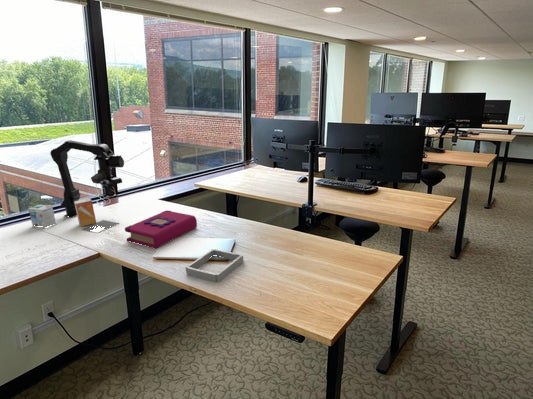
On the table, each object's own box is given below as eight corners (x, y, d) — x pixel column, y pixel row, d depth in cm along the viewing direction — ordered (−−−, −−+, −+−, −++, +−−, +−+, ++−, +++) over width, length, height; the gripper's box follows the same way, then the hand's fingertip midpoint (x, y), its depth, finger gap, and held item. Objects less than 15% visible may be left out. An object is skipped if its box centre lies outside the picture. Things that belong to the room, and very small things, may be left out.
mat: (80, 229, 202) (80, 228, 202) (103, 220, 213) (103, 219, 213) (97, 233, 196) (97, 232, 196) (119, 223, 207) (119, 223, 207)
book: (197, 228, 196) (196, 214, 194) (156, 250, 174) (154, 234, 172) (168, 222, 207) (166, 209, 205) (125, 241, 185) (123, 227, 182)
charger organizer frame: (185, 274, 150) (184, 267, 149) (213, 254, 166) (212, 248, 165) (218, 282, 143) (217, 275, 142) (244, 261, 158) (243, 254, 158)
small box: (80, 227, 205) (75, 203, 201) (79, 224, 210) (73, 201, 206) (97, 223, 209) (91, 200, 205) (94, 220, 214) (89, 197, 210)
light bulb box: (32, 226, 209) (27, 208, 206) (43, 222, 215) (38, 204, 212) (46, 228, 205) (41, 209, 202) (57, 224, 211) (52, 205, 208)
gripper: (81, 168, 211) (85, 196, 216) (104, 172, 202) (108, 200, 207) (98, 164, 220) (102, 190, 225) (120, 167, 211) (124, 194, 216)
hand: (108, 194), depth 218 cm, fingers closed
